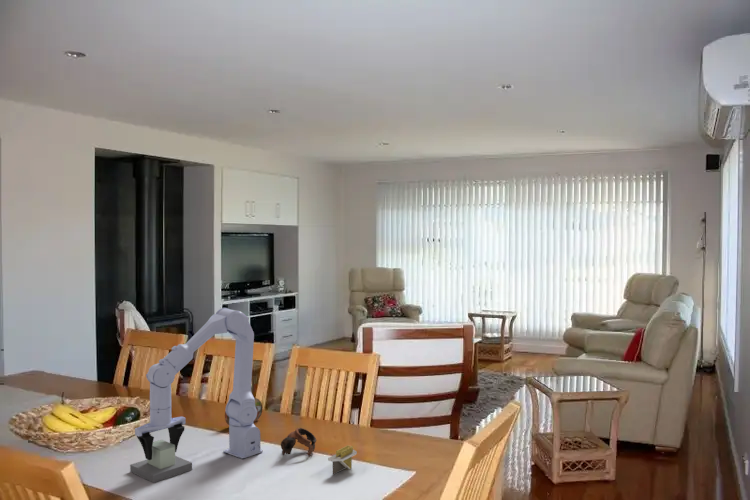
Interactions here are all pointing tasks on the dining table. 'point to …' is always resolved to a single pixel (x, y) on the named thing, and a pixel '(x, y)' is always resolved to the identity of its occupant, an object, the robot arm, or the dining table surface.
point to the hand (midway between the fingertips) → (161, 455)
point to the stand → (158, 474)
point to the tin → (258, 407)
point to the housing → (162, 454)
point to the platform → (342, 458)
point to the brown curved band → (297, 434)
